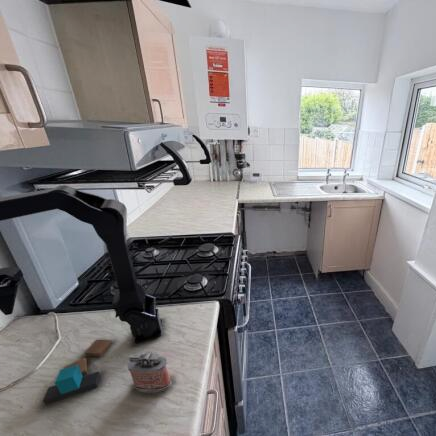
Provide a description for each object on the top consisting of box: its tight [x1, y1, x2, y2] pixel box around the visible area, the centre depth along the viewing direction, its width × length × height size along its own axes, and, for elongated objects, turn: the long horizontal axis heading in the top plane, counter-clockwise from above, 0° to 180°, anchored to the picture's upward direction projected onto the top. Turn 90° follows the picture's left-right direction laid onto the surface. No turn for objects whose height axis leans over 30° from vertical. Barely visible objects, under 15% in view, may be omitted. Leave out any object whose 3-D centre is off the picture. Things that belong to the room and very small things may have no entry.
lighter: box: [126, 351, 172, 393], centre depth 52 cm, size 8×3×10 cm, turn 92°
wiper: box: [42, 365, 101, 406], centre depth 52 cm, size 9×3×6 cm, turn 115°
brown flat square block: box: [83, 339, 113, 357], centre depth 62 cm, size 4×4×1 cm
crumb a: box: [63, 357, 88, 376], centre depth 56 cm, size 4×4×1 cm
